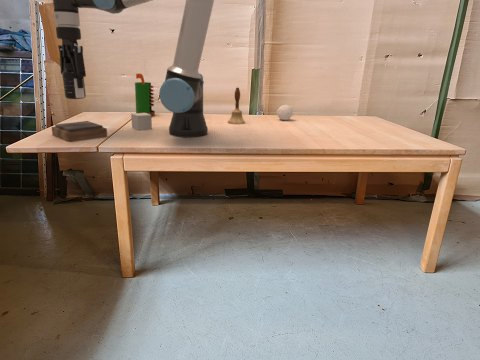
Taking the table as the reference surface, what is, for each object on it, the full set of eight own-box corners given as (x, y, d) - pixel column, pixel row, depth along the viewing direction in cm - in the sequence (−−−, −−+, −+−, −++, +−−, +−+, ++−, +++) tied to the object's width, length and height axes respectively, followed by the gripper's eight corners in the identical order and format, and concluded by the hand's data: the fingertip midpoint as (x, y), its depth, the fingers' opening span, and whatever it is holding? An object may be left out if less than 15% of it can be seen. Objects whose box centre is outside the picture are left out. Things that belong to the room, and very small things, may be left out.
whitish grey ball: (288, 118, 188) (289, 103, 185) (295, 121, 181) (296, 105, 178) (273, 119, 185) (274, 103, 182) (280, 121, 178) (281, 105, 176)
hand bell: (248, 123, 171) (249, 88, 166) (232, 124, 167) (233, 88, 162) (240, 120, 178) (241, 86, 173) (224, 121, 174) (225, 86, 169)
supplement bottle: (72, 96, 135) (68, 62, 131) (89, 97, 134) (86, 62, 130) (60, 98, 129) (56, 62, 125) (79, 99, 128) (75, 63, 124)
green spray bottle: (156, 117, 179) (154, 74, 173) (137, 117, 176) (135, 74, 169) (153, 113, 188) (151, 73, 182) (135, 114, 185) (132, 72, 178)
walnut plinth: (107, 136, 136) (106, 125, 135) (69, 141, 127) (67, 130, 125) (89, 130, 145) (88, 120, 144) (52, 135, 135) (51, 124, 134)
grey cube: (131, 128, 153) (131, 113, 151) (145, 127, 156) (144, 112, 154) (138, 130, 148) (137, 115, 146) (151, 129, 152) (151, 114, 150)
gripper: (44, 26, 127) (53, 94, 135) (69, 25, 115) (77, 100, 122) (66, 28, 133) (73, 93, 140) (92, 27, 120) (98, 98, 128)
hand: (75, 96), depth 131 cm, fingers closed on supplement bottle, 7 cm apart
